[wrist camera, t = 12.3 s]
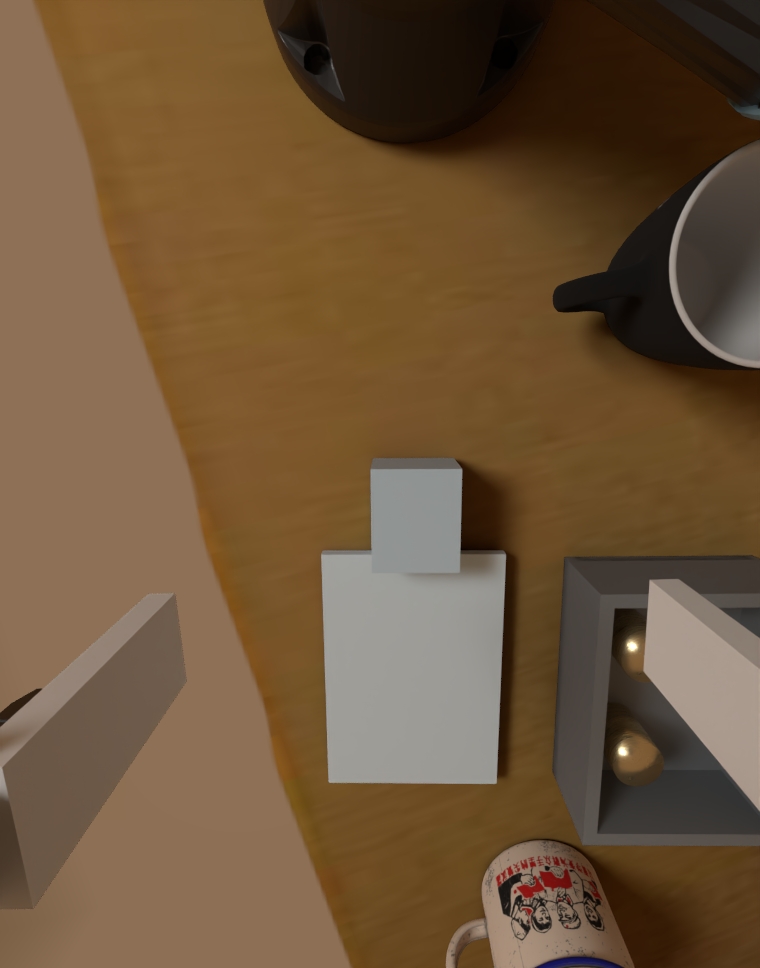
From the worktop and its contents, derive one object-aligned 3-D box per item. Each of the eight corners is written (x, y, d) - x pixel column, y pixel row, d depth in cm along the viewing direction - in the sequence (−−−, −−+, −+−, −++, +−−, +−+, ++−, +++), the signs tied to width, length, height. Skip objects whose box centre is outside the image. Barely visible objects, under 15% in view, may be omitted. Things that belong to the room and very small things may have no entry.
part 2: (590, 702, 35) (615, 743, 31) (635, 702, 35) (666, 742, 31) (587, 741, 36) (611, 786, 32) (631, 741, 36) (661, 786, 32)
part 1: (597, 605, 34) (624, 635, 30) (644, 604, 34) (677, 634, 30) (594, 647, 34) (620, 682, 30) (640, 647, 34) (672, 682, 30)
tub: (564, 557, 34) (600, 594, 28) (752, 555, 34) (828, 593, 28) (552, 771, 37) (582, 845, 31) (723, 771, 37) (786, 845, 31)
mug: (735, 201, 30) (908, 112, 20) (733, 362, 31) (892, 354, 21) (522, 230, 30) (586, 158, 20) (533, 387, 32) (597, 391, 22)
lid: (321, 456, 33) (310, 469, 29) (504, 455, 33) (523, 468, 28) (331, 765, 38) (322, 820, 33) (492, 766, 38) (506, 822, 33)
